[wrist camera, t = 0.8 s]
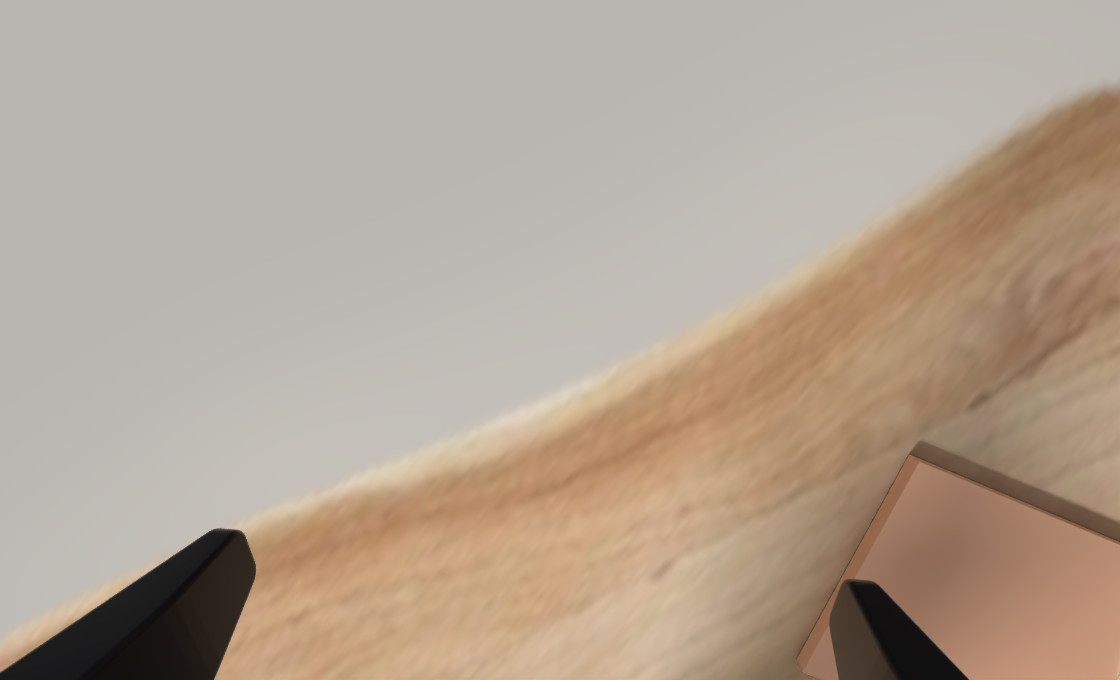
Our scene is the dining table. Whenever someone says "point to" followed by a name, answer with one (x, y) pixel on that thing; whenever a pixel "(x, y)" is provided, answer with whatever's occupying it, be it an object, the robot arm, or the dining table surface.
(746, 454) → the dining table surface
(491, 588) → the dining table surface
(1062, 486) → the dining table surface
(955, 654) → the terracotta tile
